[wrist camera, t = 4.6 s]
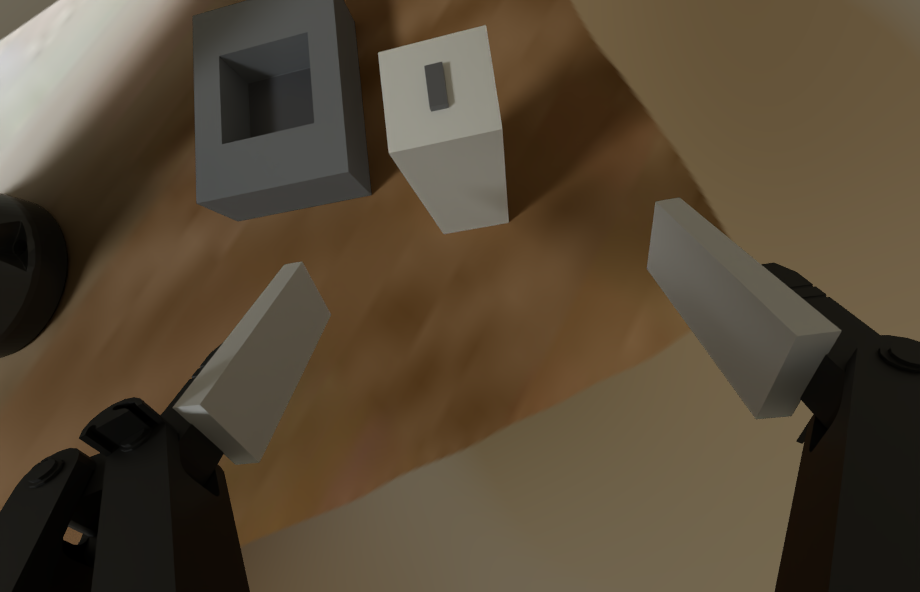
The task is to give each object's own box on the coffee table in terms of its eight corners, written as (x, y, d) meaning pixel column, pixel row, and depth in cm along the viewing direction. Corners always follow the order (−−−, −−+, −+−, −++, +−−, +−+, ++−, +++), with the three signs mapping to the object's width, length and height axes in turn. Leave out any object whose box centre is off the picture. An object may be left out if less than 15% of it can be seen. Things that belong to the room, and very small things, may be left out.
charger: (508, 222, 27) (502, 124, 15) (443, 234, 27) (386, 149, 15) (499, 160, 27) (485, 18, 15) (435, 173, 28) (375, 47, 16)
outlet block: (371, 194, 29) (348, 171, 25) (237, 221, 30) (196, 203, 26) (354, 22, 31) (331, -25, 27) (231, 55, 33) (192, 15, 29)
